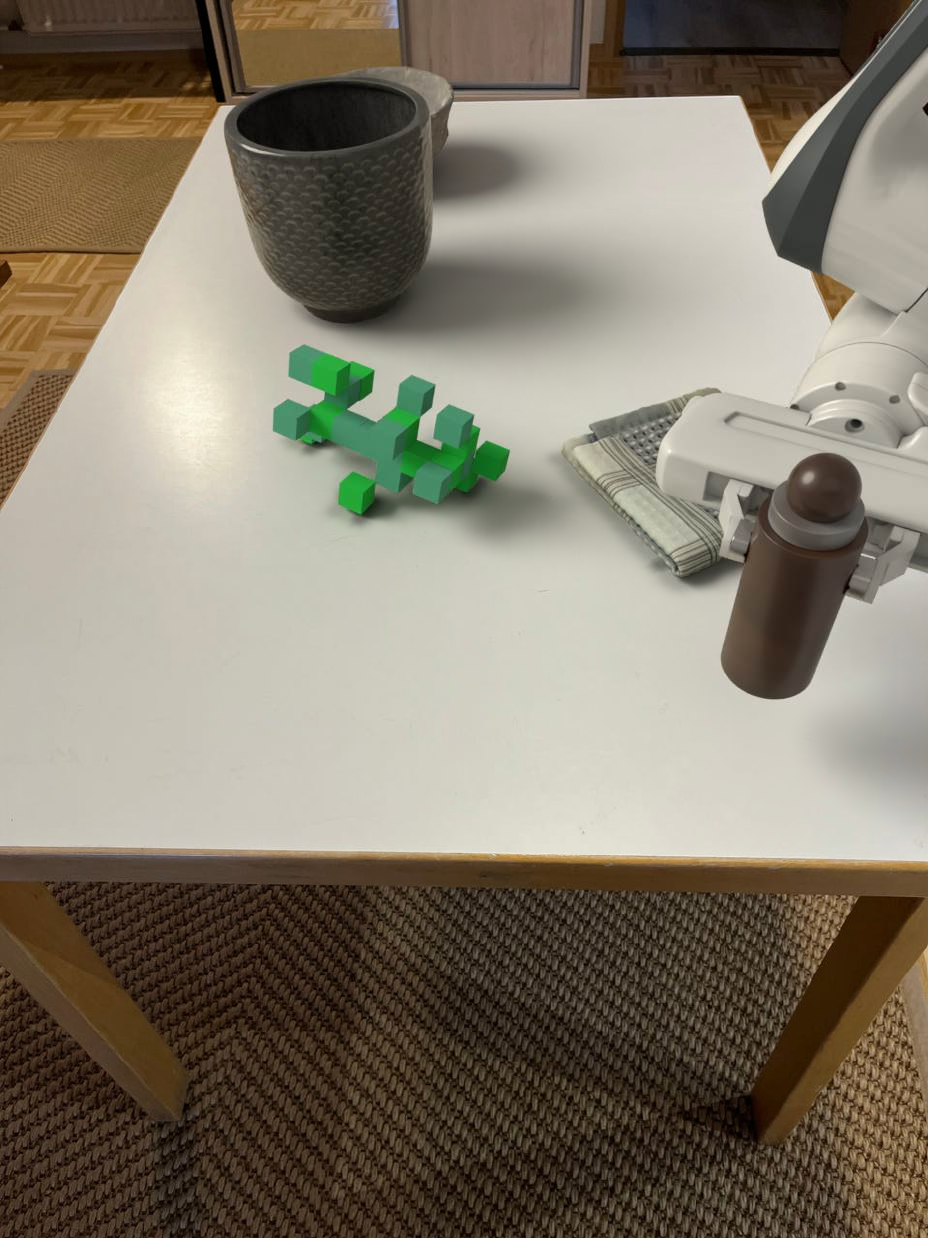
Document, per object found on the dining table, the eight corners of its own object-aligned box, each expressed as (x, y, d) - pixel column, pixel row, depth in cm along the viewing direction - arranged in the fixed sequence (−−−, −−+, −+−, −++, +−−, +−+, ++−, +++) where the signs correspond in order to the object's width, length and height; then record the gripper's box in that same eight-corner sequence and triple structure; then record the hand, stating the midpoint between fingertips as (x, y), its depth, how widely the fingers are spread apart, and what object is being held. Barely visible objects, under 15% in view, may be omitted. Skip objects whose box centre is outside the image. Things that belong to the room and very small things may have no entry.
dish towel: (851, 508, 77) (862, 479, 74) (676, 588, 71) (682, 558, 69) (710, 395, 88) (716, 366, 85) (549, 456, 82) (550, 427, 80)
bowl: (375, 132, 131) (367, 53, 124) (489, 167, 123) (488, 84, 115) (268, 185, 121) (252, 103, 114) (384, 227, 112) (376, 141, 105)
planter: (316, 242, 110) (287, 65, 96) (468, 269, 105) (462, 85, 91) (228, 327, 99) (180, 140, 84) (394, 362, 93) (373, 168, 79)
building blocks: (507, 468, 86) (532, 360, 75) (480, 572, 79) (503, 469, 68) (300, 417, 87) (295, 302, 76) (255, 517, 80) (243, 406, 69)
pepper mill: (813, 636, 59) (889, 432, 47) (813, 707, 55) (896, 504, 43) (722, 623, 60) (774, 420, 48) (717, 691, 56) (772, 490, 44)
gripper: (703, 347, 59) (621, 472, 51) (1054, 430, 52) (1021, 591, 44) (689, 427, 64) (612, 553, 56) (1009, 514, 57) (972, 672, 49)
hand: (796, 571), depth 50 cm, fingers closed on pepper mill, 5 cm apart
